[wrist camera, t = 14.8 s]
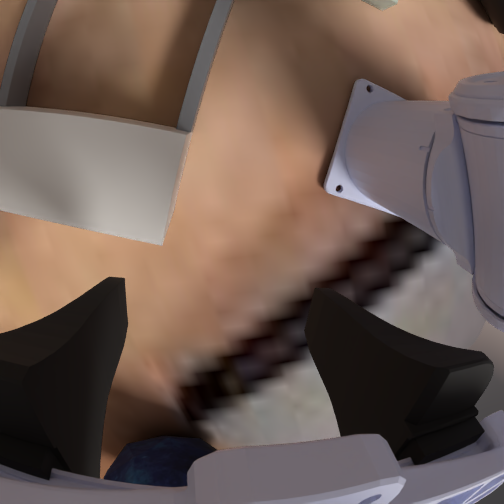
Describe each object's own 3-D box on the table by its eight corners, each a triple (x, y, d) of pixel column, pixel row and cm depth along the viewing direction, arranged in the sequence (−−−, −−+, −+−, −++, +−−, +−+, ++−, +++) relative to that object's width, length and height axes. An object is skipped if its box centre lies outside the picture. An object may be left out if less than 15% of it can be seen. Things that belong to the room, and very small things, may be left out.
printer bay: (244, -27, 14) (259, -73, 9) (174, 209, 20) (161, 245, 14) (67, -40, 11) (32, -75, 6) (7, 177, 17) (-45, 200, 11)
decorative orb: (89, 497, 25) (167, 594, 16) (59, 432, 20) (165, 584, 10) (182, 456, 35) (263, 533, 26) (191, 384, 30) (306, 485, 21)
